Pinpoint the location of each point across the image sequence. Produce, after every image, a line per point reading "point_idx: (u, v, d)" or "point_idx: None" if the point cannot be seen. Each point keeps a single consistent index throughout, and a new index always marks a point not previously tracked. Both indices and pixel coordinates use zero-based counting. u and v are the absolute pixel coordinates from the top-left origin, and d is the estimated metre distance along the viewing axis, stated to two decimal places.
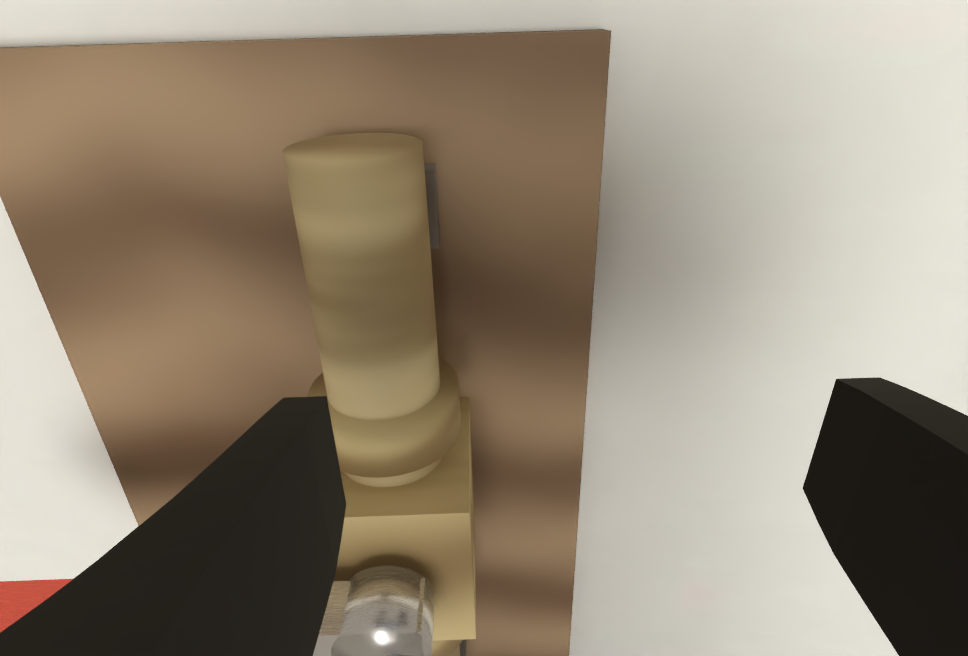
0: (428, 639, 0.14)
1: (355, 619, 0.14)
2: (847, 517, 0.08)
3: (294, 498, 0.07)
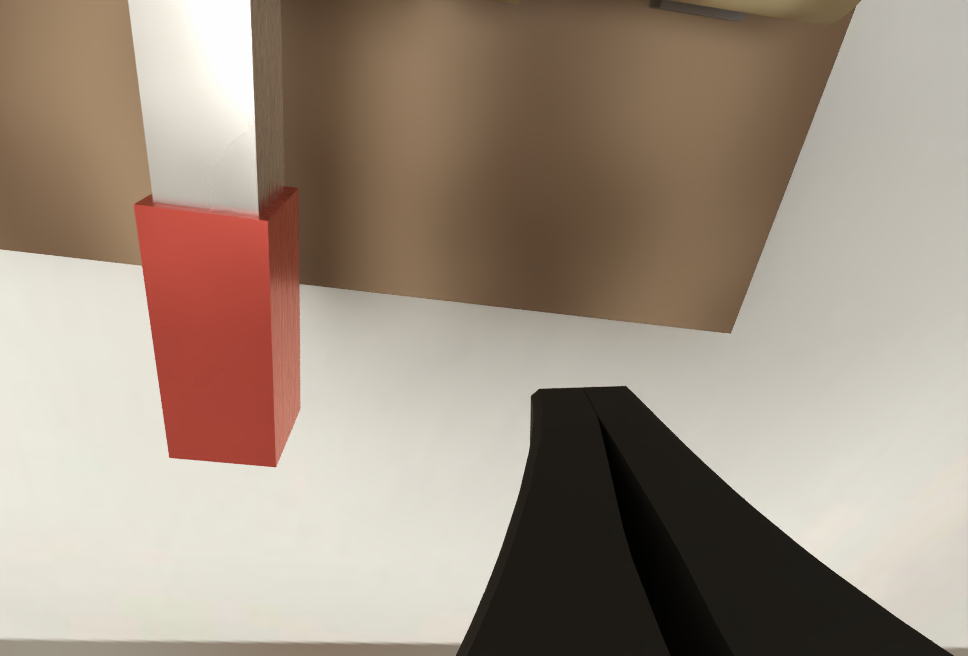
0: None
1: None
2: None
3: None
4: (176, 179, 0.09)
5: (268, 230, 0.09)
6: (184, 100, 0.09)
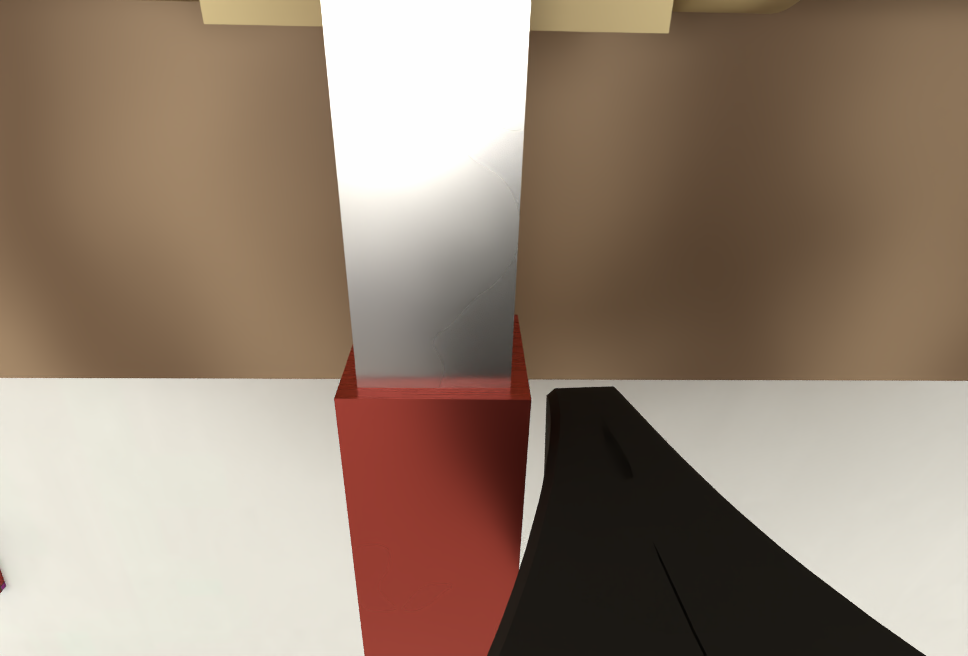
0: None
1: None
2: None
3: None
4: (392, 354, 0.06)
5: (529, 411, 0.06)
6: (410, 245, 0.05)
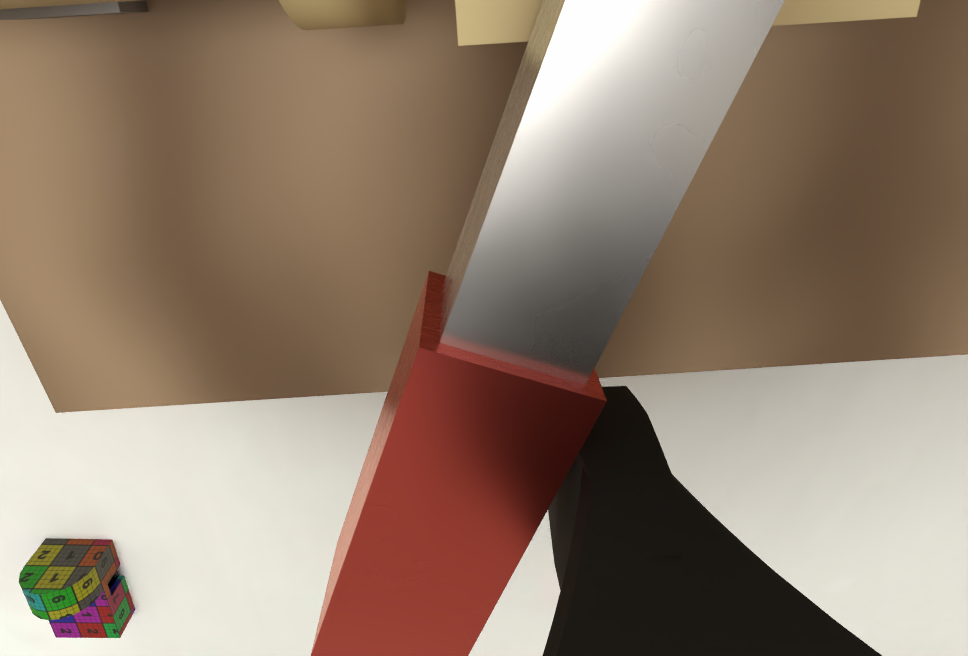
0: None
1: None
2: (556, 527, 0.08)
3: None
4: (490, 319, 0.06)
5: (599, 412, 0.06)
6: (557, 217, 0.05)
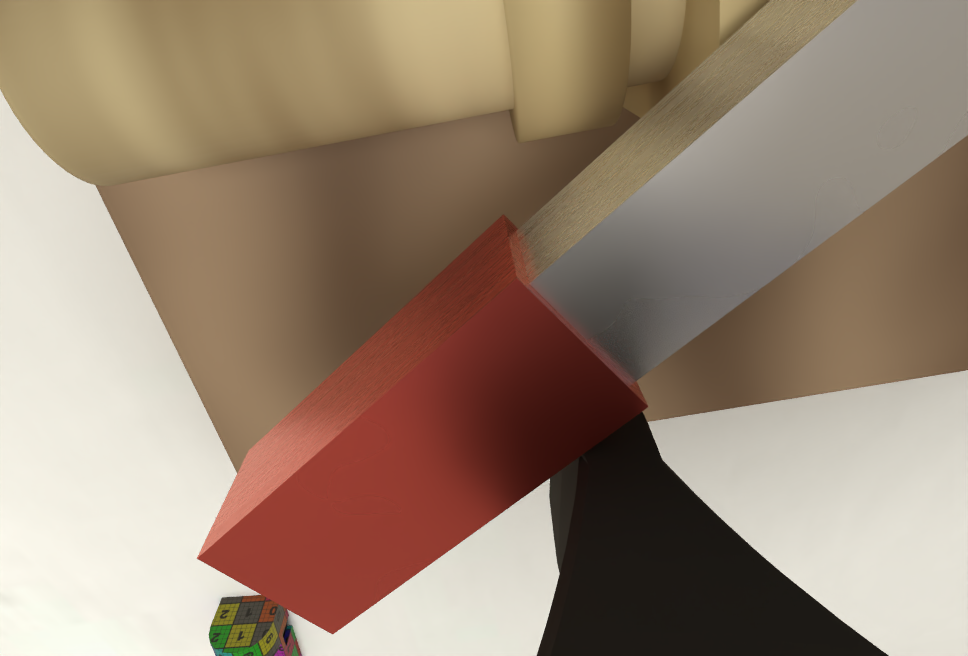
0: None
1: None
2: (559, 527, 0.08)
3: None
4: (589, 283, 0.06)
5: (634, 414, 0.06)
6: (705, 214, 0.05)
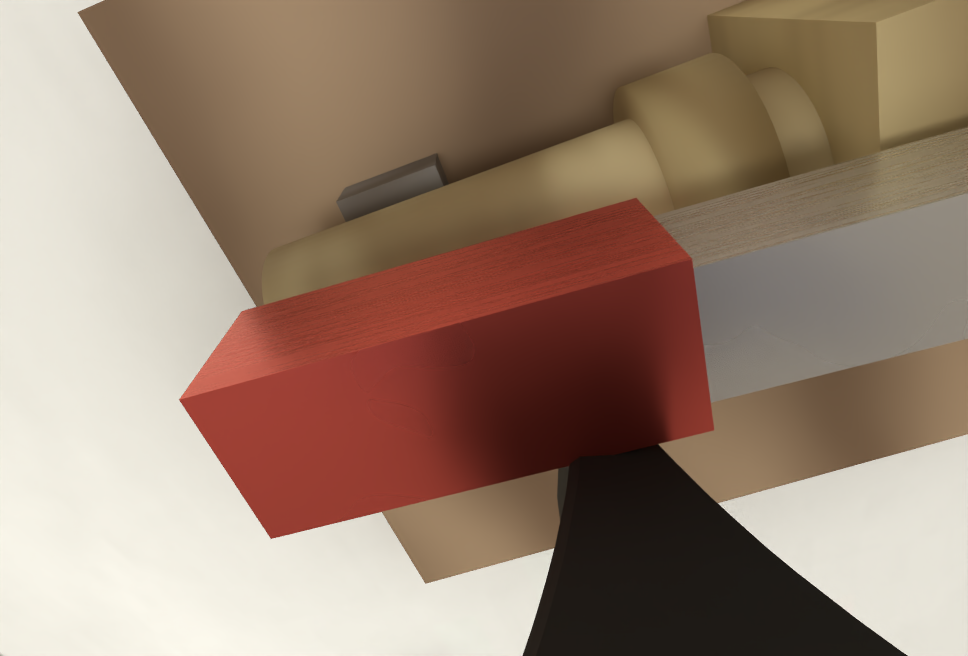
0: None
1: None
2: None
3: None
4: (735, 294, 0.06)
5: (697, 432, 0.06)
6: (860, 281, 0.06)
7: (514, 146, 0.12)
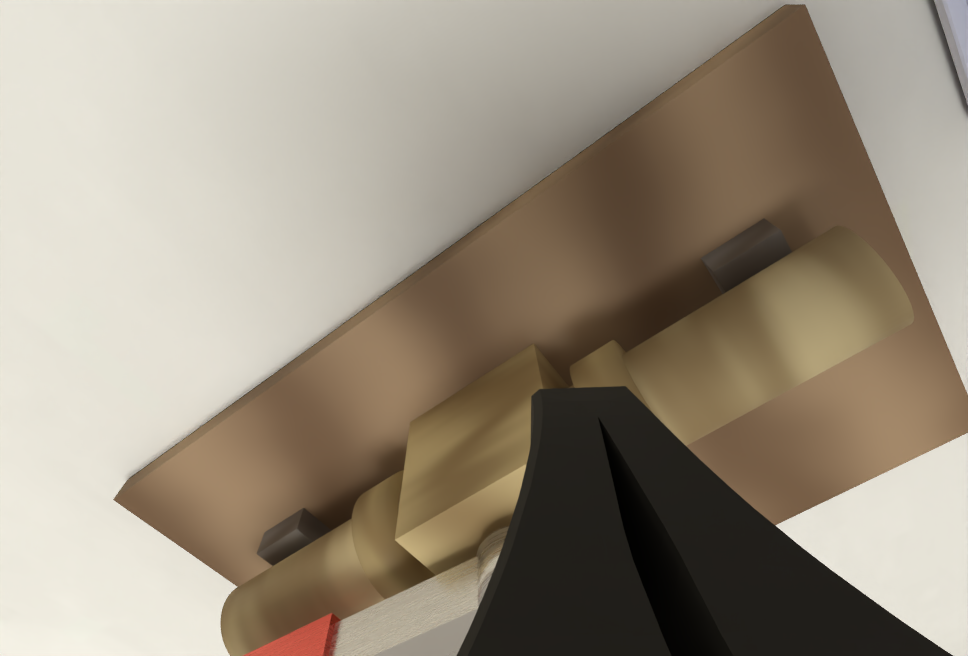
0: None
1: (485, 588, 0.14)
2: None
3: None
4: None
5: None
6: None
7: (341, 495, 0.21)
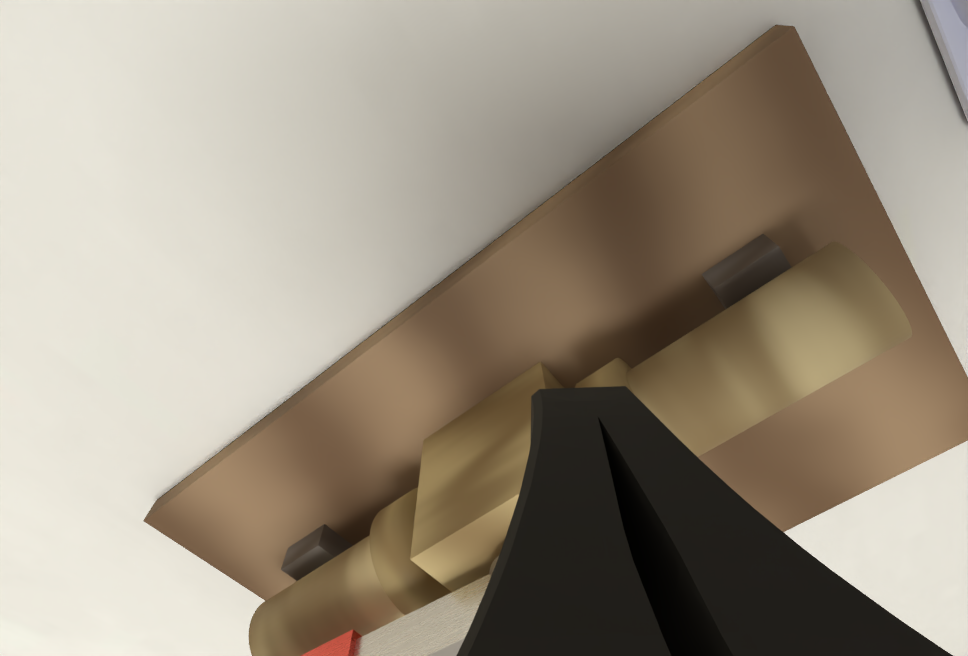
0: None
1: None
2: None
3: None
4: None
5: None
6: None
7: (360, 511, 0.22)
